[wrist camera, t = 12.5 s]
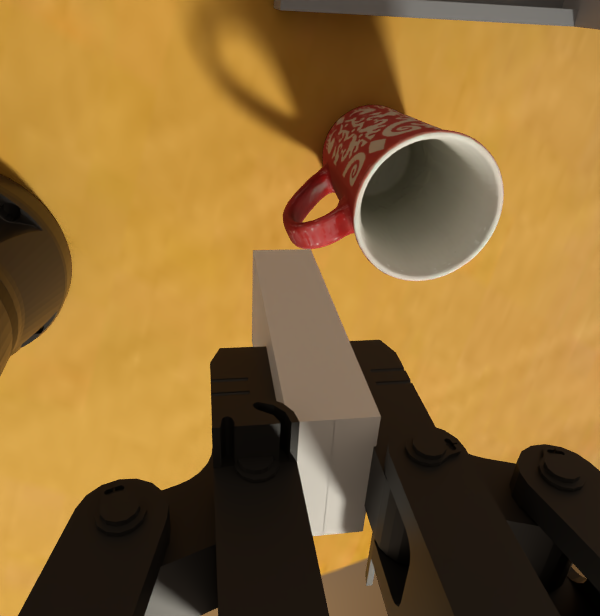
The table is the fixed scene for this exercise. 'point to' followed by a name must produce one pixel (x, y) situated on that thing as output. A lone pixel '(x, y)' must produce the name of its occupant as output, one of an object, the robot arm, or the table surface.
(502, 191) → the mug
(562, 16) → the bench
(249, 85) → the table surface
